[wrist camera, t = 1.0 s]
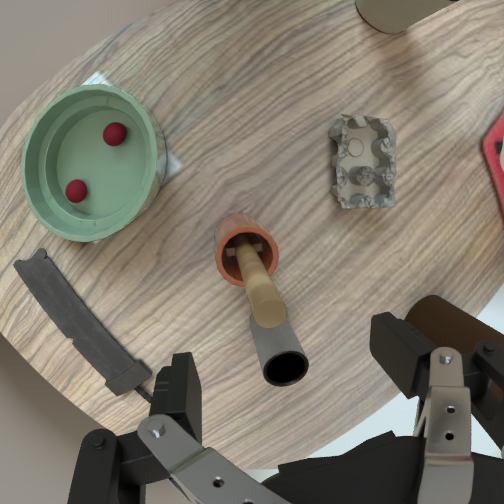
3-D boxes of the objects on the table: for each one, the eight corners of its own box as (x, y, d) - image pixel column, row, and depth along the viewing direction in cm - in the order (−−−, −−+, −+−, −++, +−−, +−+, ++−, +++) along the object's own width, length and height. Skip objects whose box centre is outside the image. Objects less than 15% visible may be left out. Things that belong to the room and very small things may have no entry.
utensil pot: (211, 216, 32) (211, 231, 25) (260, 209, 33) (274, 222, 25) (218, 263, 34) (221, 291, 26) (265, 256, 34) (281, 281, 27)
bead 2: (106, 127, 27) (98, 124, 25) (128, 121, 28) (121, 117, 25) (108, 149, 28) (100, 148, 26) (130, 144, 28) (123, 142, 26)
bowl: (42, 119, 26) (16, 112, 20) (159, 83, 27) (148, 66, 22) (60, 239, 30) (35, 253, 25) (177, 216, 32) (169, 226, 26)
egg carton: (326, 115, 31) (340, 109, 27) (381, 122, 32) (399, 118, 28) (326, 205, 34) (341, 210, 30) (381, 206, 35) (399, 211, 31)
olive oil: (421, 282, 39) (548, 369, 15) (455, 301, 41) (560, 375, 17) (386, 342, 41) (485, 454, 17) (424, 354, 43) (512, 443, 19)
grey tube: (282, 335, 37) (303, 386, 28) (247, 334, 37) (260, 387, 27) (287, 304, 36) (313, 350, 27) (251, 302, 36) (266, 350, 26)
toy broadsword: (42, 233, 30) (34, 236, 28) (206, 418, 40) (206, 427, 38) (14, 265, 31) (7, 269, 29) (171, 434, 40) (171, 443, 38)
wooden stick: (222, 232, 32) (236, 304, 15) (253, 227, 33) (300, 293, 16) (225, 248, 33) (241, 334, 16) (255, 243, 33) (302, 322, 16)
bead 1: (69, 181, 28) (59, 183, 26) (88, 176, 29) (79, 177, 26) (73, 203, 29) (63, 206, 27) (92, 199, 29) (83, 201, 27)
